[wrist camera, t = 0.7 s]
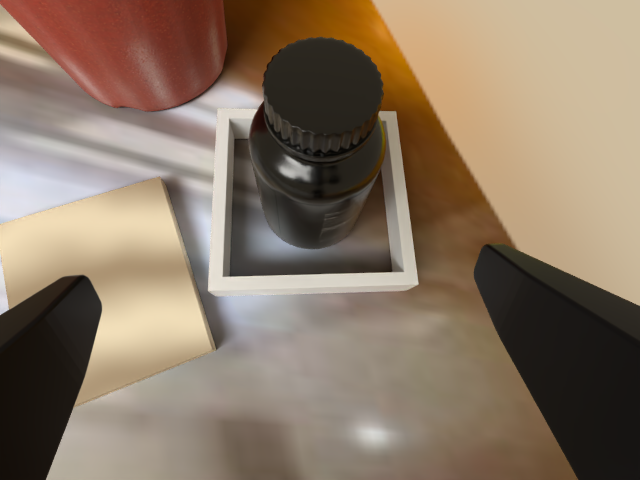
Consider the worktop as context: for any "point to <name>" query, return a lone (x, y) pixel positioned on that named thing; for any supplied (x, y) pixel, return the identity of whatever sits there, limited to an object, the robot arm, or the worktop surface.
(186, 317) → the birch board
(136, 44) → the flower pot
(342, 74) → the supplement bottle
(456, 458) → the worktop surface
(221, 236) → the frame
